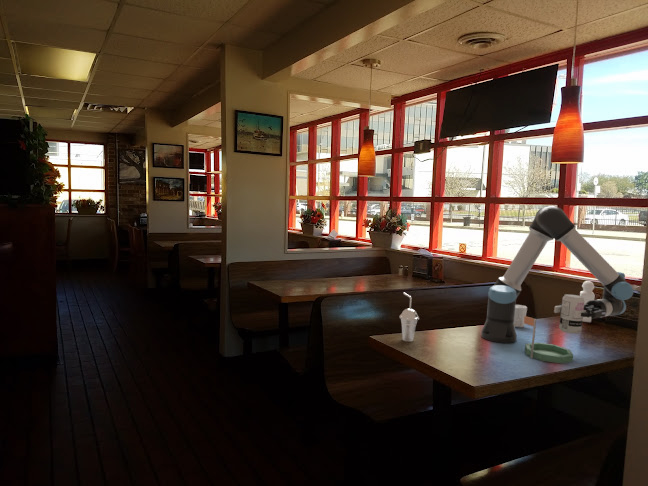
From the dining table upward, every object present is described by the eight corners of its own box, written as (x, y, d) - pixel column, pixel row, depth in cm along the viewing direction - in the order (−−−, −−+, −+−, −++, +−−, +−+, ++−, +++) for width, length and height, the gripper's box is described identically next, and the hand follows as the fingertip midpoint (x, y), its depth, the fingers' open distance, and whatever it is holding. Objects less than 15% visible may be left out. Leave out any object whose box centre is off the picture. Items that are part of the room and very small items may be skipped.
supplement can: (561, 327, 201) (565, 293, 200) (582, 331, 196) (586, 296, 195) (556, 331, 195) (560, 295, 194) (579, 335, 190) (583, 299, 188)
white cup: (526, 328, 233) (528, 308, 232) (510, 326, 234) (511, 307, 233) (523, 324, 241) (525, 305, 240) (507, 322, 242) (509, 303, 241)
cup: (544, 346, 204) (547, 310, 202) (580, 359, 189) (584, 321, 187) (513, 351, 195) (517, 314, 193) (549, 365, 180) (553, 324, 178)
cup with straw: (399, 342, 200) (402, 296, 198) (396, 336, 209) (399, 292, 207) (419, 343, 200) (422, 297, 198) (415, 337, 209) (418, 292, 207)
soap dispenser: (590, 320, 257) (594, 280, 255) (592, 322, 251) (596, 282, 249) (577, 318, 259) (581, 279, 257) (578, 321, 253) (582, 281, 251)
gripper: (621, 323, 195) (588, 328, 184) (574, 310, 213) (541, 314, 202) (624, 305, 194) (590, 309, 183) (576, 294, 212) (543, 297, 201)
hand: (564, 312), depth 193 cm, fingers closed on supplement can, 8 cm apart
